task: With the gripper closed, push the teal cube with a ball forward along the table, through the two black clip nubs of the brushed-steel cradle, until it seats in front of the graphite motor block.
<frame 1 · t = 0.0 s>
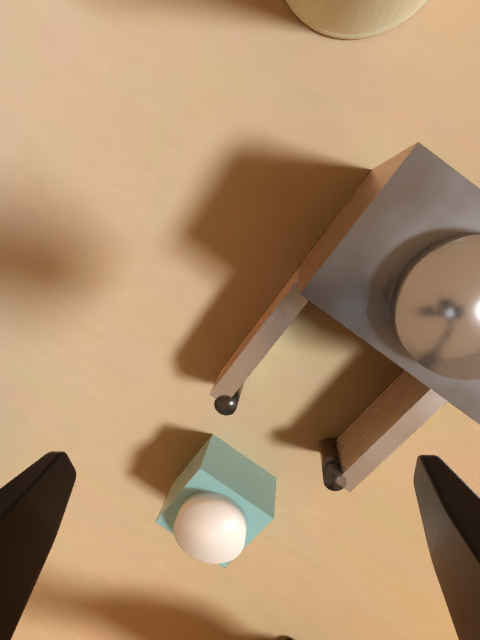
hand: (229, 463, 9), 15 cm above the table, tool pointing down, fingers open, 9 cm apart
teal cube with ball: (223, 479, 28), on the table
motor mount: (328, 361, 24), on the table
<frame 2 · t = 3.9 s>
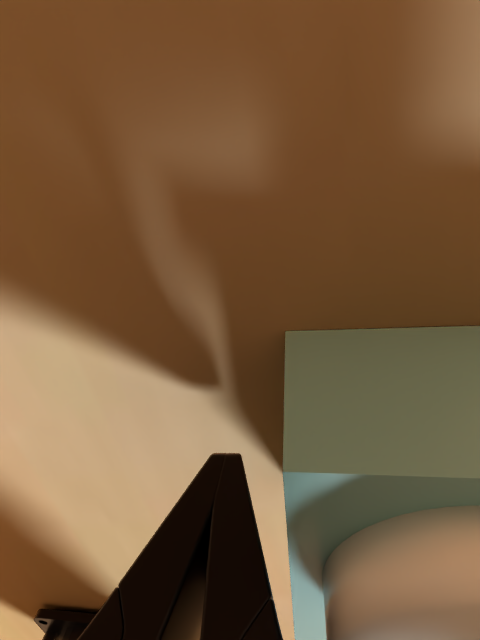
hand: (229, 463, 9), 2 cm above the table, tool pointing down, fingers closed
teal cube with ball: (399, 420, 10), on the table, touching gripper
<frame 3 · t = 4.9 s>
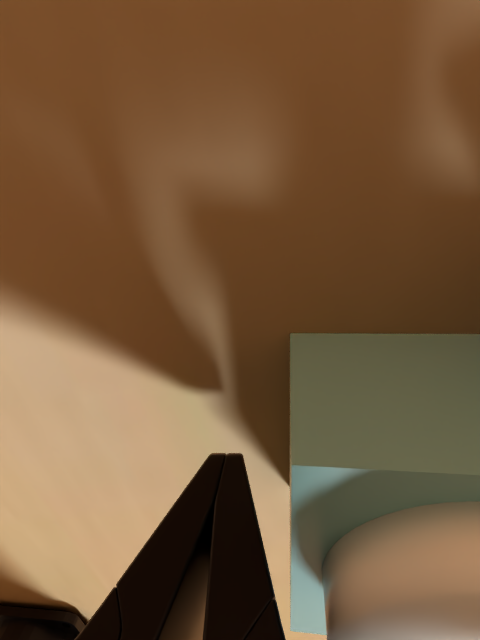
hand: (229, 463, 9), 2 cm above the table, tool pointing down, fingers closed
teal cube with ball: (397, 419, 10), on the table, touching gripper
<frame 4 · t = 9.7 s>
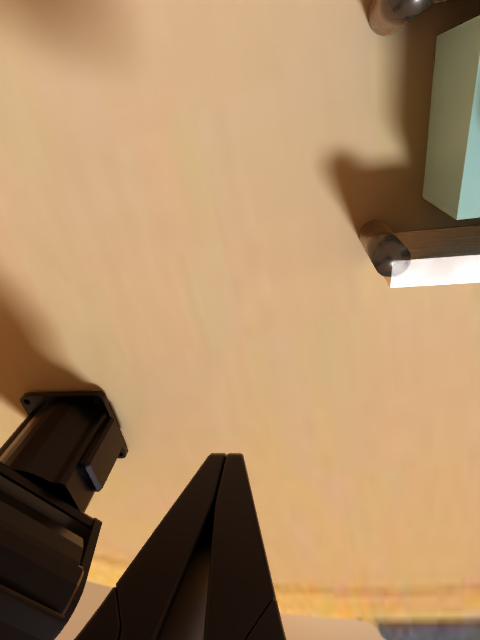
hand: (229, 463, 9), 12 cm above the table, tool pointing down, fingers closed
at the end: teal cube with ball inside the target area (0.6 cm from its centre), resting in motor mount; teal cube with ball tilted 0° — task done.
